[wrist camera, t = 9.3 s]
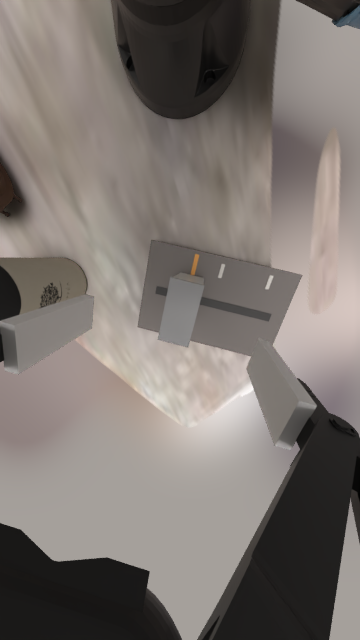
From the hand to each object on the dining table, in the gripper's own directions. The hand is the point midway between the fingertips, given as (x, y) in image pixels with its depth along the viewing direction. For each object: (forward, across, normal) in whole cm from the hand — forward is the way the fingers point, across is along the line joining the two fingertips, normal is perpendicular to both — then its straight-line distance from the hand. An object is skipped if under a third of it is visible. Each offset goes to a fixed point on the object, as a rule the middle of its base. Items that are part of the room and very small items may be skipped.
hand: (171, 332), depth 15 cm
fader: (+15, 0, 0) cm, 15 cm away
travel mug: (+19, -22, -4) cm, 29 cm away
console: (+19, +4, 0) cm, 19 cm away
